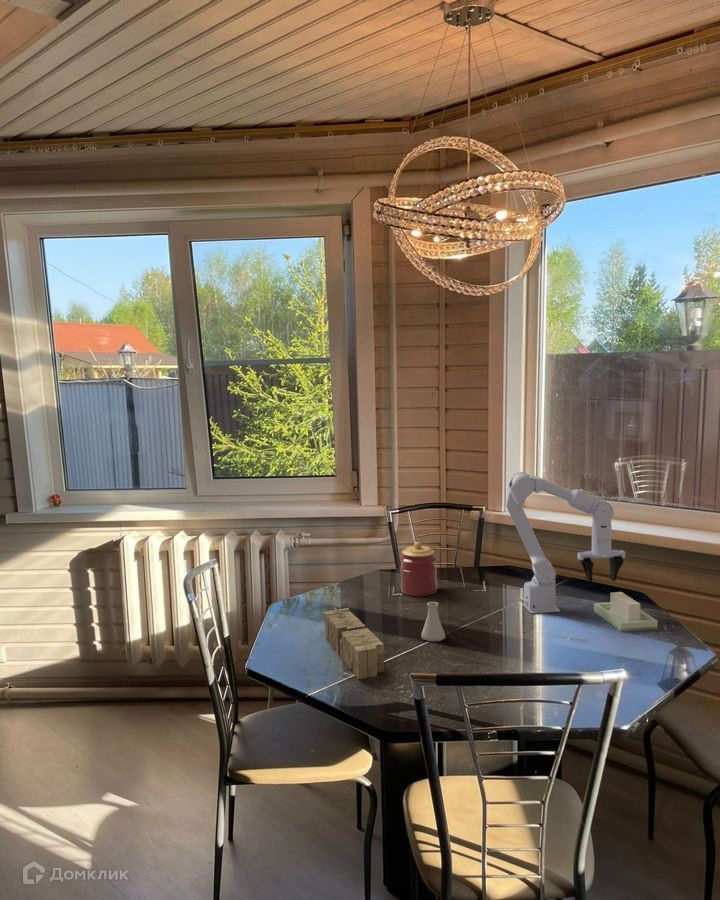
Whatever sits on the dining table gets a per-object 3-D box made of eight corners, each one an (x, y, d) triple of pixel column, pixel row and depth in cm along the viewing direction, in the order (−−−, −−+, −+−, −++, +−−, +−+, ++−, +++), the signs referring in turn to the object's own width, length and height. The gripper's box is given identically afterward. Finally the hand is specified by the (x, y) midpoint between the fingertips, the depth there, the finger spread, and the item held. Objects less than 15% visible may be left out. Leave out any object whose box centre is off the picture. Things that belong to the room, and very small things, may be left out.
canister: (402, 585, 229) (400, 537, 227) (437, 585, 227) (436, 537, 225) (399, 596, 216) (397, 546, 214) (437, 597, 214) (436, 546, 213)
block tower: (386, 678, 159) (349, 633, 186) (386, 646, 158) (349, 605, 185) (357, 683, 156) (323, 637, 183) (356, 651, 155) (323, 609, 182)
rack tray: (620, 631, 180) (620, 623, 180) (593, 611, 197) (594, 603, 197) (657, 629, 181) (657, 621, 181) (627, 608, 198) (627, 601, 198)
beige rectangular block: (628, 624, 183) (628, 604, 183) (610, 611, 194) (610, 592, 194) (639, 623, 184) (640, 604, 183) (621, 610, 195) (621, 591, 194)
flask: (448, 633, 183) (447, 600, 182) (443, 643, 176) (442, 608, 175) (424, 631, 185) (423, 598, 184) (418, 640, 179) (417, 606, 178)
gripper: (584, 542, 191) (584, 586, 192) (630, 540, 192) (629, 583, 194) (574, 537, 198) (574, 579, 199) (619, 534, 199) (618, 576, 201)
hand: (601, 580), depth 197 cm, fingers open, 7 cm apart
